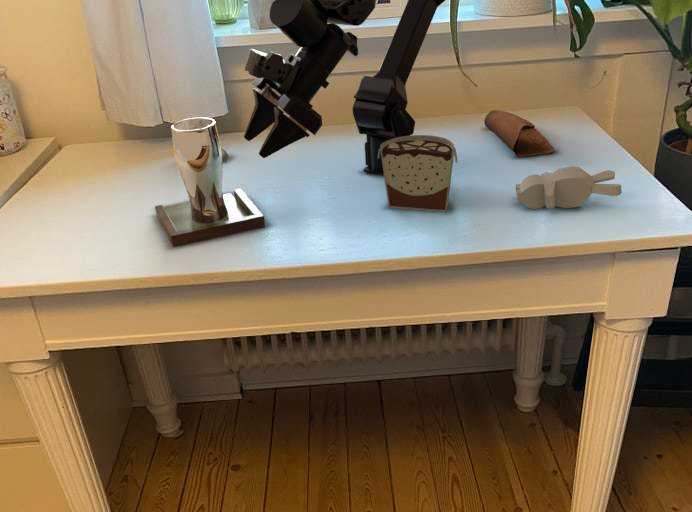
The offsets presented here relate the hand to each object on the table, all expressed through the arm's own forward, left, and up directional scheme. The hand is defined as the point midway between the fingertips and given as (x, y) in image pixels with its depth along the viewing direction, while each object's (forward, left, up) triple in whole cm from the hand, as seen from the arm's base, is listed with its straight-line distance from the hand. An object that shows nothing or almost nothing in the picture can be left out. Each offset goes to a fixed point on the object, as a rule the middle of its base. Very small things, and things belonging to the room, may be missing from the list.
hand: (253, 147), depth 116 cm
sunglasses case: (-28, -45, -10) cm, 54 cm away
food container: (-23, -11, -10) cm, 28 cm away
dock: (+6, +7, -10) cm, 13 cm away
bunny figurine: (-44, -18, -10) cm, 49 cm away
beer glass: (+6, +6, -10) cm, 13 cm away
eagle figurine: (+25, -17, -10) cm, 32 cm away
